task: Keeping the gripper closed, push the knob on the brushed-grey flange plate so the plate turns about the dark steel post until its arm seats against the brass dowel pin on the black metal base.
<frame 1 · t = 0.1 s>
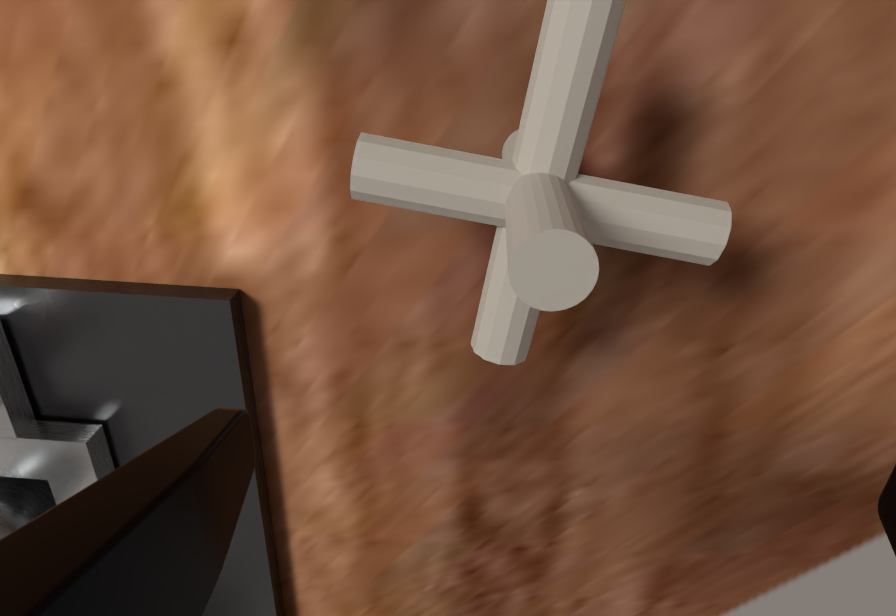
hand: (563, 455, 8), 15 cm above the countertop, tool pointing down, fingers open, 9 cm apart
pipe connector: (528, 152, 21), on the countertop
post base: (48, 475, 30), on the countertop
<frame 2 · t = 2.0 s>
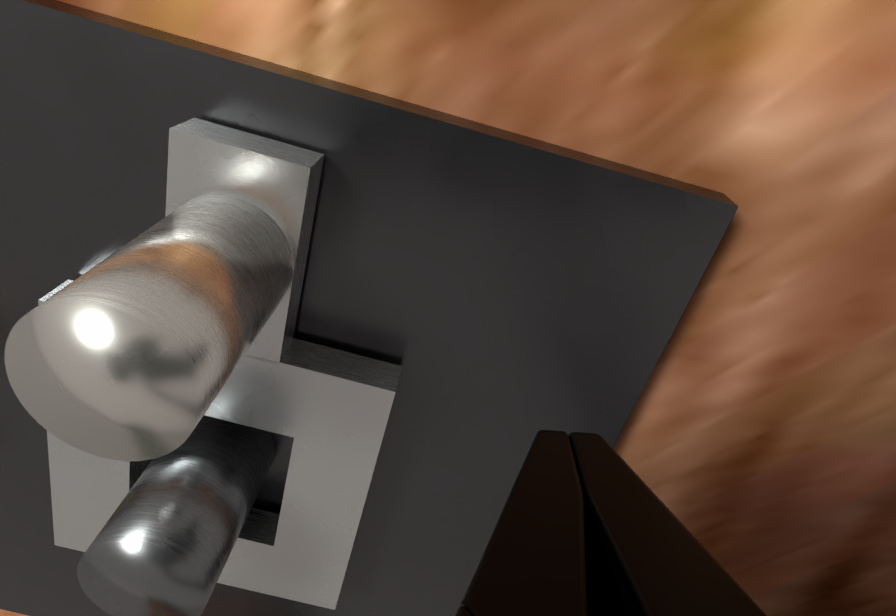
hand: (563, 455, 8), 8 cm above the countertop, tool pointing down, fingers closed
post base: (238, 423, 19), on the countertop
flange: (180, 458, 14), point 4 cm above the countertop, hinge at 0.0°
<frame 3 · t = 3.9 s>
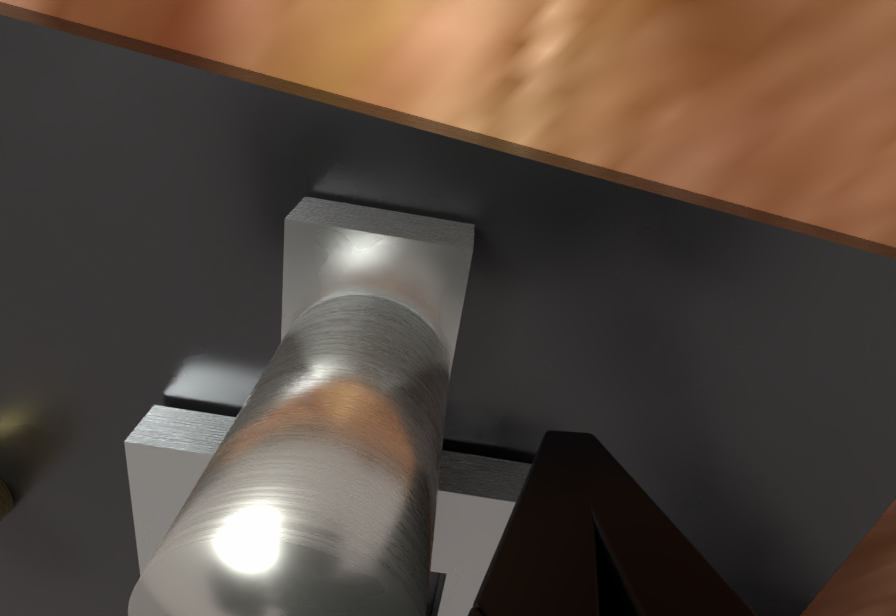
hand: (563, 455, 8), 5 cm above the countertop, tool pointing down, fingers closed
post base: (357, 540, 16), on the countertop
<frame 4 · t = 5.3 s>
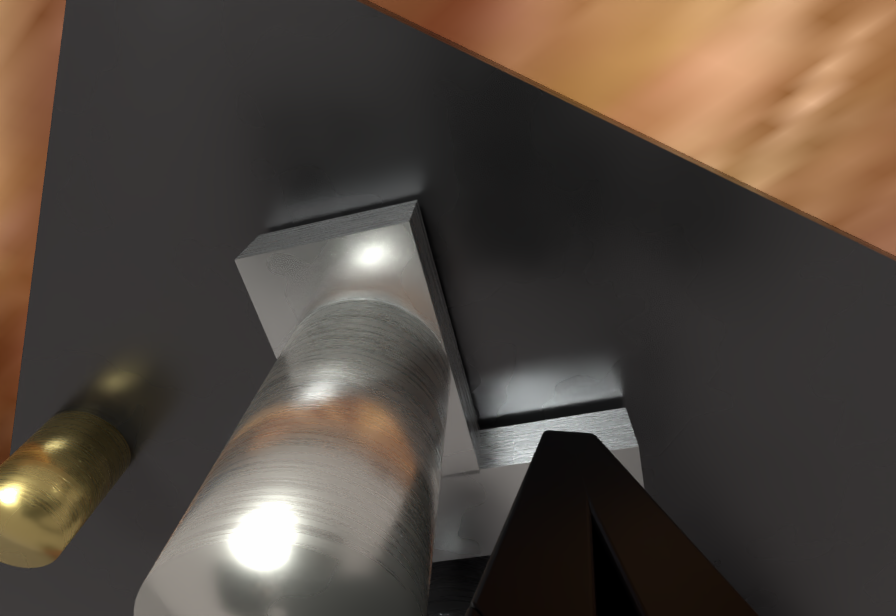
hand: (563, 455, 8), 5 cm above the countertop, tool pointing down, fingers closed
post base: (462, 545, 16), on the countertop
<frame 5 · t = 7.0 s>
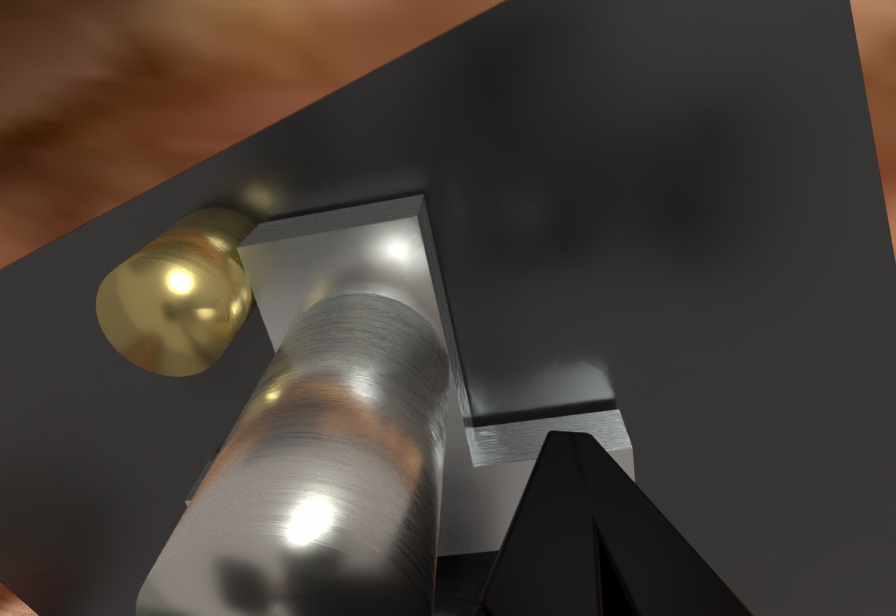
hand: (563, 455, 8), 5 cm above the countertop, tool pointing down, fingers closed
post base: (447, 541, 16), on the countertop
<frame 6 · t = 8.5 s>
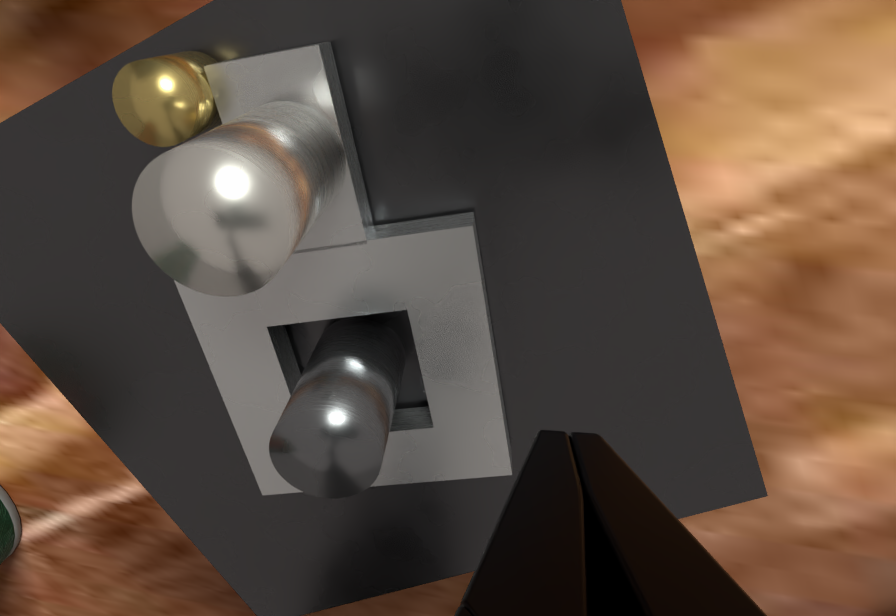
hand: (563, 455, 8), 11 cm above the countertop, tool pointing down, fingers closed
post base: (367, 340, 21), on the countertop
flange: (315, 341, 16), point 4 cm above the countertop, hinge at 75.0°, touching post base
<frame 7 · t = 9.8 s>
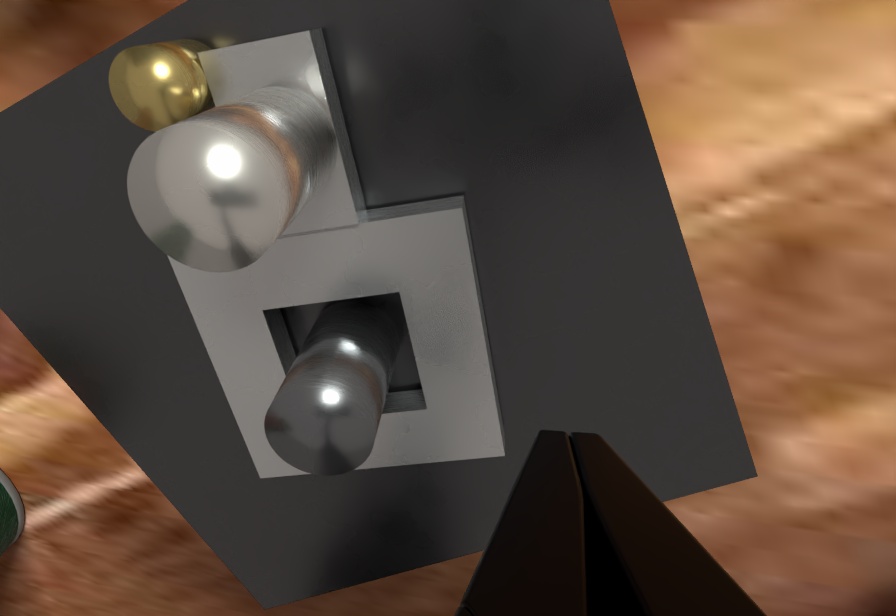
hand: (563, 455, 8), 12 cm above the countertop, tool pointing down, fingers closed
post base: (361, 325, 22), on the countertop
flange: (309, 322, 17), point 4 cm above the countertop, hinge at 75.0°, touching post base
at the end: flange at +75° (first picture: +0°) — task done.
